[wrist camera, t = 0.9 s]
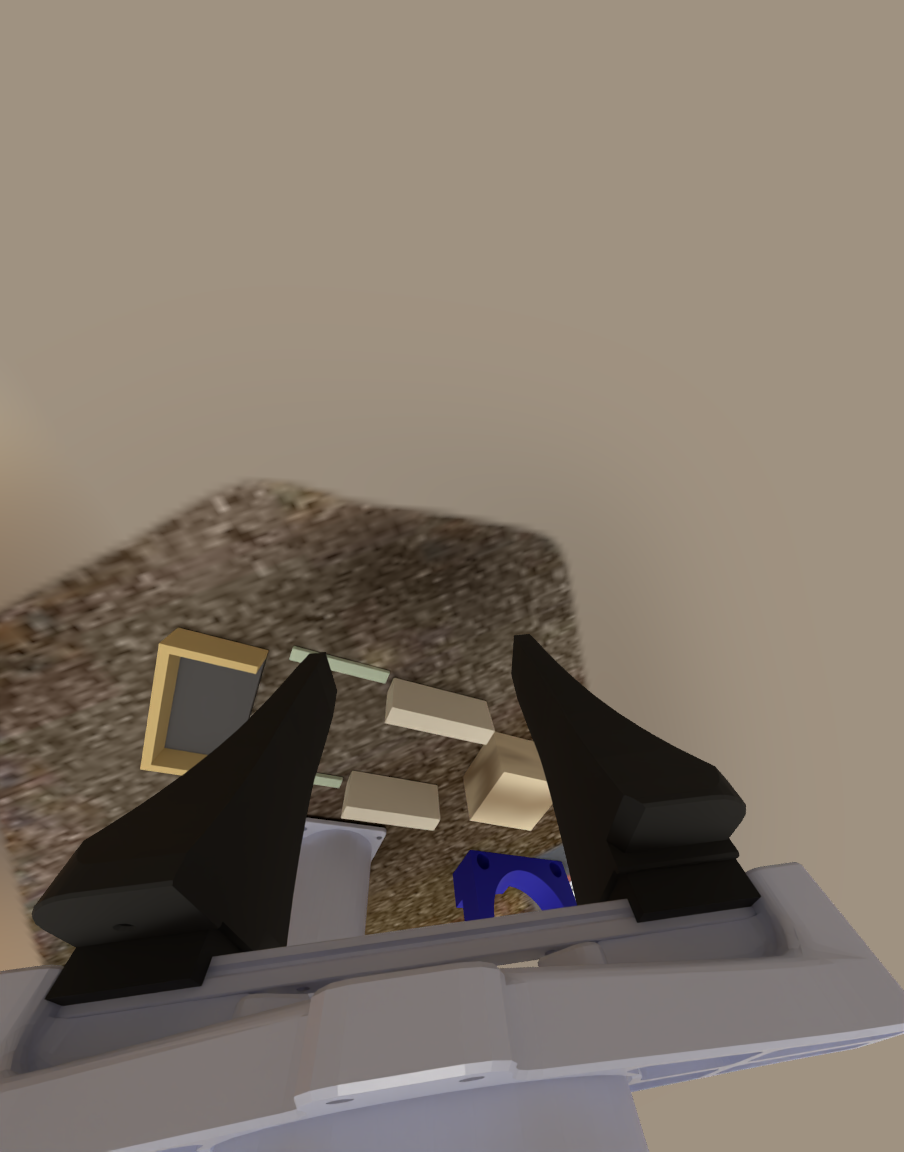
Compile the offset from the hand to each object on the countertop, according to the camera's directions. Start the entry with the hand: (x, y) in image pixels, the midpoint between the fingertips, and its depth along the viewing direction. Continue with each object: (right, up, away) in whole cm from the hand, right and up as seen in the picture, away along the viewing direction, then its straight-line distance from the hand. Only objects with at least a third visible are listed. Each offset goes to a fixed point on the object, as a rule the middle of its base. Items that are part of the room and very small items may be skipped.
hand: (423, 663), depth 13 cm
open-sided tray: (-16, -6, +11) cm, 21 cm away
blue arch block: (+8, -30, +25) cm, 40 cm away
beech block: (+6, -14, +18) cm, 23 cm away
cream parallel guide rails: (-2, -11, +15) cm, 19 cm away
